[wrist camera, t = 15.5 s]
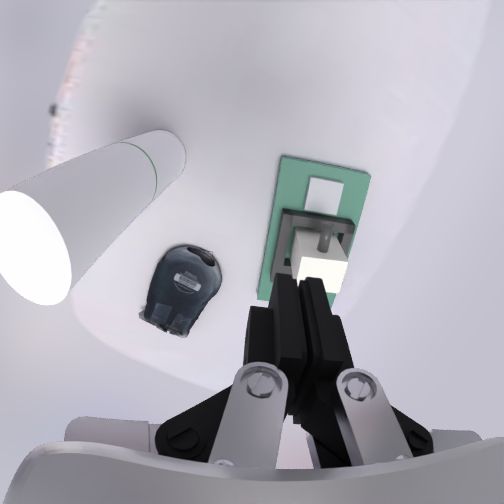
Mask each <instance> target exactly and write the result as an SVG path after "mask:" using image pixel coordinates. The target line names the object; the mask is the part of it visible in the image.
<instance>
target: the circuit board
mask: <svg viewBox="0 0 504 504" xmlns="http://www.w3.org/2000/svg"><path fill="white" fill-rule="evenodd" d="M370 178H371V175H370V174H368V173H366V172H362V171H357V170H353V169H348V168H344V167H339V166H334V165H329V164H324V163H319V162H314V161H309V160H303V159H297V158H292V157H286V156H282V157H281V163H280V169H279V175H278V181H277V187H276V193H275V198H274V204H273V210H272V216H271V221H270V227H269V233H268V238H267V244H266V250H265V255H264V261H263V266H262V272H261V277H260V283H259V288H258V296H257V300H265V301H269V300H270V296H271V291H272V286H273V282H274V277H275V273H276V272H277V273H284V274H291V275H292V279H293V274H292V268H291V261H290V254H289V253H290V248H291V243H292V237H293V232H294V226H302V227H308V228H314V229H322V225H323V222H329V223H332V224H333V225H334V228H333V232H334V233H335V235H336V237H337V239H338V241H339V243H340V245H341V247H342V249H343V251H344V254H345V256H346V258H347V260H348V257H349V253H350V250H351V247H352V244H353V240H354V237H355V234H356V230H357V227H358V223H359V220H360V216H361V213H362V209H363V205H364V202H365V198H366V194H367V190H368V186H369V183H370ZM326 294H327V298H328V301H329V305H330V308H331V307H332V304H333V301H334V299H335V296H336V293H329V292H326Z"/></svg>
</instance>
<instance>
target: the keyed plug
mask: <svg viewBox="0 0 504 504" xmlns="http://www.w3.org/2000/svg"><path fill="white" fill-rule="evenodd" d="M333 228H334V225H333V224H332V223H329V222H323V225H322V229H314V228H308V227H302V226H294V232H293V237H292V243H291V248H290V253H289V254H290V261H291V268H292V274H293V279H297V284H298V285H299V282H300V280H305V278H306V277H315V278H321V279H322V280H323V283H324V287H325V291H326V292H329V293H339V291H340V288H341V285H342V282H343V278H344V275H345V272H346V269H347V265H348V260H347V258H346V256H345V254H344V251H343V249H342V247H341V245H340V243H339V241H338V239H337V237H336V235H335V233H334V232H333Z"/></svg>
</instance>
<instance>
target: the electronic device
mask: <svg viewBox="0 0 504 504" xmlns="http://www.w3.org/2000/svg"><path fill="white" fill-rule="evenodd" d="M187 249H194V250H198V251H200V252H202V253H204V254H206V255H207V256H208V257H210V258H211V260H212V261H213V262H214V264H215V266H213V267H211V266H208V265H206V264H205V263H204V262H203V261H202V260H201V258H200V256H198V255H196V254H194V253H191V252H189V251H188V250H187ZM221 283H222V276H221V272H220V269H219V266H218V265H217V263H216V261H215V260H214V259H213V257H212V252H207V251H204V250H202V249H199V248H196V247H180V248H176V249H172V250H170V251H168V252H167V254H166V255H165V256H164V257H163V258H162V260H161V261H160V262H159V263H158V265H157V268H156V270H155V273H154V275H153V278H152V281H151V284H150V288H149V291H148V296H147V304H146V308H145V309H144V310H143V311H142V312H140V313H139V318H140V319H142V320H144V321H146V322H148V323H150V324H153V325H155V326H156V327H157V328H158V329H161V330H162V331H164V332H167V331H170V332H169V333H170V334H172V335H177V336H179V337H181V338H185V337H187V336H188V334H189V330H190V329H191V327H192V326H193V324H194V323H195V321H196V320H197V319H198V317H199V315H200V314H201V312H202V311H203V309H204V307H205V306H206V304H207V303H208V301H209V300H210V299H211V298H212V297H214V296H215V295H216V293H217V292H218V290H219V288H220V286H221Z"/></svg>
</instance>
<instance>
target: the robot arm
mask: <svg viewBox="0 0 504 504" xmlns="http://www.w3.org/2000/svg"><path fill="white" fill-rule="evenodd" d="M287 413H288V415H293V424H301V427H302V428H303V429H304V430H305V431H307V433H306V439H307V443H308V447H309V451H310V455H311V459H312V463H313V467H314V469H275V467H276V462H277V456H278V450H279V444H280V438H281V431H282V425H283V422H284V420H285V418H286V415H287ZM3 504H504V437H496V438H490V439H486V440H482V439H481V438H480V436H479V435H478V434H477V433H475V432H473V431H455V430H436V429H435V430H434V429H433V430H431V431H430V432H428V431H427V430H426V429H425V428H424V427H423V426H421V425H420V424H418V423H416V422H415V421H414V420H412V419H411V418H409V417H408V416H406V415H405V414H403V413H402V412H400V411H399V410H397V409H396V408H394V407H393V406H391V405H390V403H389V401H388V399H387V397H386V395H385V393H384V390H383V388H382V386H381V384H380V382H379V381H378V379H377V378H376V377H375V376H374V375H373V374H371V373H370V372H368V371H366V370H363V369H359V368H354V366H353V361H352V357H351V354H350V351H349V346H348V343H347V339H346V336H345V332H344V329H343V325H342V322H341V319H340V317H339V316H338V315H332V312H331V309H330V305H329V301H328V298H327V294H326V291H325V287H324V283H323V280H322V279H321V278H315V277H306V278H305V280H300V282H299V285H298V284H297V279H292V275H291V274H284V273H277V272H276V273H275V277H274V282H273V286H272V291H271V296H270V300H269V305H268V308H265V307H257V306H250V311H249V317H248V322H247V329H246V337H245V347H244V360H243V367H241V368H240V369H239V370H238V372H237V374H236V375H235V379H234V382H233V385H231V386H229V387H228V388H226V389H224V390H222V391H221V392H219V393H217V394H215V395H214V396H212V397H210V398H208V399H207V400H205V401H203V402H201V403H199V404H198V405H196V406H194V407H192V408H190V409H188V410H186V411H185V412H183V413H181V414H179V415H177V416H175V417H173V418H171V419H169V420H167V421H166V422H165V423H163V424H149V422H148V421H133V420H117V419H105V418H95V417H78V418H76V419H74V420H72V421H71V422H70V423H69V424H68V426H67V428H66V431H65V437H64V442H63V441H60V442H53V443H47V444H43V445H40V446H38V447H36V448H35V449H33V450H32V451H31V452H30V453H29V454H28V455H27V456H26V458H25V459H24V460H23V462H22V463H21V465H20V466H19V468H18V470H17V472H16V473H15V475H14V478H13V480H12V482H11V484H10V486H9V489H8V491H7V493H6V496H5V499H4V502H3Z"/></svg>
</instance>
